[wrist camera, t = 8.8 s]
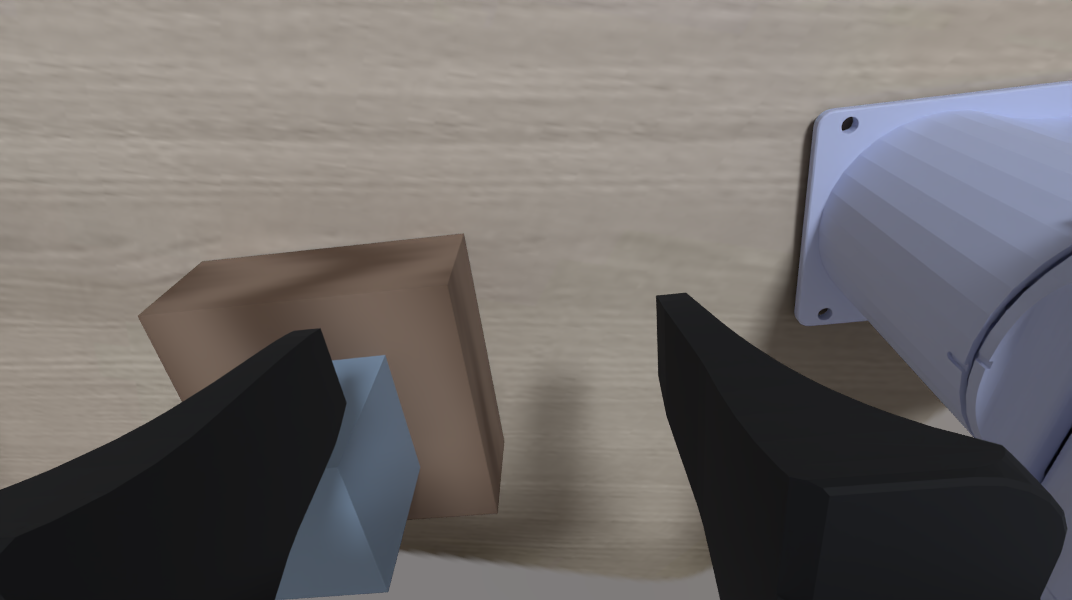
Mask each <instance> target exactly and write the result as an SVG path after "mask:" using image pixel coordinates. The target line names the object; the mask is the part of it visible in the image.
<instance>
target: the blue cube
mask: <svg viewBox="0 0 1072 600" xmlns="http://www.w3.org/2000/svg"><path fill="white" fill-rule="evenodd" d="M332 362H333V365H334V368H335V371H336V374H337V376H338V379H339V382H340V385H341V388H342V391H343V394H344V396H345V399H346V402H347V404H346V408H345V412H344V416H343V420H342V424H341V428H340V431H339V435H338V438H337V442H336V445H335V447H334V450H333V452H332V454H331V457H330V459H329V461H328V464H327V466H326V468H325V471H324V473H323V475H322V478H321V480H320V482H319V485H318V487H317V489H316V491H315V494H314V496H313V498H312V500H311V503H310V505H309V507H308V510H307V512H306V514H305V516H304V519H303V521H302V523H301V525H300V528H299V530H298V532H297V535H296V538H295V540H294V543H293V545H292V548H291V550H290V553H289V556H288V560H287V563H286V566H285V569H284V572H283V576H282V579H281V582H280V585H279V588H278V591H277V595H276V598H275V600H284V599H298V598H313V597H327V596H340V595H355V594H369V593H383V592H388V591H389V587H390V583H391V579H392V575H393V571H394V567H395V564H396V560H397V556H398V552H399V548H400V544H401V540H402V536H403V533H404V529H405V525H406V521H407V517H408V513H409V509H410V505H411V501H412V498H413V494H414V490H415V486H416V482H417V478H418V474H419V470H420V465H419V461H418V458H417V455H416V452H415V449H414V445H413V442H412V439H411V436H410V433H409V429H408V426H407V423H406V420H405V417H404V413H403V410H402V407H401V404H400V401H399V397H398V394H397V391H396V388H395V385H394V381H393V378H392V375H391V372H390V369H389V365H388V362H387V359H386V356H385V355H380V356H371V357H361V358H351V359H342V360H332Z"/></svg>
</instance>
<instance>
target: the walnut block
mask: <svg viewBox="0 0 1072 600" xmlns="http://www.w3.org/2000/svg"><path fill="white" fill-rule="evenodd" d="M138 318H139V320H140V322H141V324H142V325H143V327H144V329H145V331H146V333H147V335H148V337H149V339H150V341H151V343H152V345H153V347H154V349H155V351H156V352H157V354H158V356H159V358H160V360H161V362H162V364H163V366H164V368H165V370H166V372H167V374H168V376H169V377H170V379H171V381H172V383H173V385H174V387H175V389H176V391H177V393H178V395H179V397H180V399H181V401H182V402H183V401H185V400H186V399H188V398H189V397H191V396H192V395H194V394H196V393H197V392H199V391H200V390H202V389H204V388H205V387H207V386H208V385H210V384H211V383H213V382H215V381H216V380H218V379H219V378H221V377H222V376H223V375H225V374H226V373H228V372H229V371H231V370H232V369H234V368H235V367H237V366H238V365H240V364H241V363H243V362H244V361H246V360H247V359H249V358H250V357H252V356H253V355H255V354H256V353H258V352H259V351H261V350H262V349H264V348H265V347H267V346H268V345H270V344H271V343H273V342H274V341H276V340H278V339H279V338H281V337H283V336H284V335H286V334H288V333H290V332H292V331H296V330H306V329H316V328H321V331H322V333H323V336H324V339H325V342H326V345H327V348H328V351H329V353H330V356H331V359H332V360H342V359H351V358H361V357H371V356H380V355H385V356H386V359H387V362H388V365H389V369H390V372H391V375H392V378H393V381H394V385H395V388H396V391H397V394H398V397H399V401H400V404H401V407H402V410H403V413H404V417H405V420H406V423H407V426H408V429H409V433H410V436H411V439H412V442H413V445H414V449H415V452H416V455H417V458H418V461H419V465H420V470H419V474H418V478H417V482H416V486H415V490H414V494H413V498H412V501H411V505H410V509H409V513H408V517H407V520H412V519H426V518H440V517H454V516H468V515H483V514H497V513H498V503H499V492H500V482H501V471H502V460H503V450H504V437H503V432H502V427H501V422H500V417H499V412H498V406H497V401H496V396H495V391H494V386H493V381H492V376H491V371H490V365H489V360H488V355H487V350H486V345H485V340H484V335H483V330H482V324H481V319H480V314H479V309H478V304H477V299H476V294H475V289H474V283H473V278H472V273H471V268H470V263H469V258H468V253H467V247H466V242H465V237H464V234H455V235H446V236H437V237H427V238H418V239H409V240H399V241H390V242H381V243H371V244H362V245H353V246H343V247H334V248H325V249H315V250H306V251H297V252H287V253H278V254H269V255H259V256H250V257H241V258H231V259H222V260H213V261H203V262H201V263H200V264H199V265H197V266H196V267H195V268H194V269H193V270H191V271H190V272H189V273H188V274H187V275H186V276H184V277H183V278H182V279H181V280H180V281H178V282H177V283H176V284H175V285H174V286H173V287H171V288H170V289H169V290H168V291H167V292H165V293H164V294H163V295H162V296H161V297H160V298H158V299H157V300H156V301H155V302H154V303H152V304H151V305H150V306H149V307H148V308H146V309H145V310H144V311H143V312H142V313H141V314H139V315H138Z"/></svg>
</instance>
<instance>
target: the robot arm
mask: <svg viewBox="0 0 1072 600" xmlns="http://www.w3.org/2000/svg"><path fill="white" fill-rule="evenodd" d="M849 117H853V123H852V126H851V127H850V128H849V129H847V130H844V131H842V127H841V126H842V123H843V121H844V120H845V119H846V118H849ZM656 308H657V344H658V376H659V381H660V387H661V392H662V397H663V401H664V406H665V411H666V416H667V419H668V422H669V425H670V428H671V430H672V433H673V436H674V439H675V442H676V445H677V448H678V451H679V454H680V457H681V459H682V462H683V465H684V468H685V471H686V474H687V477H688V480H689V482H690V485H691V488H692V491H693V494H694V497H695V500H696V503H697V506H698V509H699V512H700V516H701V519H702V523H703V526H704V531H705V535H706V539H707V544H708V548H709V552H710V556H711V561H712V565H713V569H714V574H715V578H716V583H717V587H718V592H719V596H720V600H1072V80H1071V81H1063V82H1054V83H1046V84H1037V85H1029V86H1020V87H1012V88H1003V89H995V90H986V91H978V92H969V93H961V94H952V95H944V96H935V97H927V98H918V99H910V100H901V101H893V102H884V103H876V104H867V105H859V106H850V107H842V108H833V109H829V110H825V111H824V112H822V113H821V114H820V115H819V116H818V117H817V119H816V120H815V123H814V126H813V135H812V145H811V155H810V165H809V174H808V184H807V194H806V204H805V213H804V223H803V233H802V243H801V252H800V262H799V272H798V282H797V291H796V301H795V311H794V313H795V317H796V318H797V320H798V321H799V322H800V324H802V325H804V326H815V325H826V324H837V323H848V322H859V321H869V322H870V323H871V325H872V326H873V327H874V328H875V329H876V330H877V331H878V332H879V333H880V334H881V336H882V337H883V338H884V339H885V340H886V341H887V342H888V343H889V344H890V345H891V347H892V348H893V349H894V350H895V351H896V352H897V353H898V354H899V355H900V356H901V358H902V359H903V360H904V361H905V362H906V363H907V364H908V365H909V366H910V368H911V369H912V370H913V371H914V372H915V373H916V374H917V375H918V376H919V377H920V379H921V380H922V381H923V382H924V383H925V384H926V385H927V386H928V387H929V388H930V390H931V391H932V392H933V393H934V394H935V395H936V396H937V397H938V398H939V399H940V401H941V402H942V403H943V404H944V405H945V406H946V407H947V408H948V409H949V411H950V412H951V413H952V414H953V415H954V416H955V417H956V418H957V419H958V420H959V422H960V423H961V424H962V425H963V426H964V427H965V428H966V429H967V430H968V431H969V433H970V434H971V435H972V436H973V437H974V438H973V437H969V436H965V435H961V434H958V433H954V432H950V431H946V430H942V429H938V428H934V427H931V426H928V425H924V424H921V423H918V422H915V421H912V420H909V419H906V418H903V417H900V416H897V415H894V414H891V413H888V412H886V411H883V410H880V409H877V408H875V407H872V406H869V405H867V404H864V403H862V402H859V401H857V400H855V399H852V398H850V397H848V396H845V395H843V394H841V393H838V392H836V391H833V390H831V389H829V388H827V387H825V386H823V385H821V384H819V383H817V382H815V381H813V380H811V379H809V378H807V377H805V376H803V375H801V374H799V373H798V372H796V371H794V370H792V369H790V368H788V367H786V366H785V365H783V364H781V363H780V362H778V361H776V360H775V359H773V358H772V357H770V356H768V355H767V354H765V353H764V352H762V351H761V350H759V349H758V348H756V347H755V346H753V345H752V344H750V343H749V342H747V341H746V340H745V339H743V338H742V337H740V336H739V335H738V334H736V333H735V332H734V331H732V330H731V329H730V328H728V327H727V326H726V325H725V324H723V323H722V322H721V321H719V320H718V319H717V318H716V317H715V316H713V315H712V314H711V313H710V312H709V311H707V310H706V309H705V308H704V307H703V306H701V305H700V304H699V303H698V302H697V301H695V300H694V299H693V298H692V297H691V296H689V295H688V294H687V293H678V294H668V295H658V296H656ZM824 308H828V310H827V312H825V313H824V314H821V315H818V313H819V311H821V310H822V309H824ZM346 404H347V402H346V399H345V396H344V394H343V391H342V388H341V385H340V382H339V379H338V376H337V374H336V371H335V368H334V365H333V362H332V359H331V356H330V353H329V351H328V348H327V345H326V342H325V339H324V336H323V333H322V331H321V328H316V329H306V330H296V331H292V332H290V333H288V334H286V335H284V336H283V337H281V338H279V339H278V340H276V341H274V342H273V343H271V344H270V345H268V346H267V347H265V348H264V349H262V350H261V351H259V352H258V353H256V354H255V355H253V356H252V357H250V358H249V359H247V360H246V361H244V362H243V363H241V364H240V365H238V366H237V367H235V368H234V369H232V370H231V371H229V372H228V373H226V374H225V375H223V376H222V377H221V378H219V379H218V380H216V381H215V382H213V383H211V384H210V385H208V386H207V387H205V388H204V389H202V390H200V391H199V392H197V393H196V394H194V395H192V396H191V397H189V398H188V399H186V400H185V401H183V402H181V403H180V404H178V405H177V406H175V407H173V408H172V409H170V410H169V411H167V412H165V413H163V414H162V415H160V416H158V417H156V418H155V419H153V420H151V421H149V422H148V423H146V424H144V425H142V426H140V427H138V428H136V429H135V430H133V431H131V432H129V433H127V434H125V435H123V436H121V437H120V438H118V439H116V440H114V441H112V442H110V443H108V444H105V445H103V446H101V447H99V448H97V449H95V450H93V451H90V452H88V453H86V454H84V455H82V456H80V457H77V458H75V459H73V460H71V461H69V462H67V463H64V464H62V465H60V466H58V467H56V468H53V469H51V470H49V471H46V472H44V473H41V474H39V475H37V476H34V477H32V478H29V479H27V480H24V481H22V482H19V483H17V484H14V485H12V486H9V487H6V488H4V489H1V490H0V600H275V598H276V595H277V591H278V588H279V585H280V582H281V579H282V576H283V572H284V569H285V566H286V563H287V560H288V556H289V553H290V550H291V548H292V545H293V543H294V540H295V538H296V535H297V532H298V530H299V528H300V525H301V523H302V521H303V519H304V516H305V514H306V512H307V510H308V507H309V505H310V503H311V500H312V498H313V496H314V494H315V491H316V489H317V487H318V485H319V482H320V480H321V478H322V475H323V473H324V471H325V468H326V466H327V464H328V461H329V459H330V457H331V454H332V452H333V450H334V447H335V445H336V442H337V438H338V435H339V431H340V428H341V424H342V420H343V416H344V412H345V408H346Z"/></svg>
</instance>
